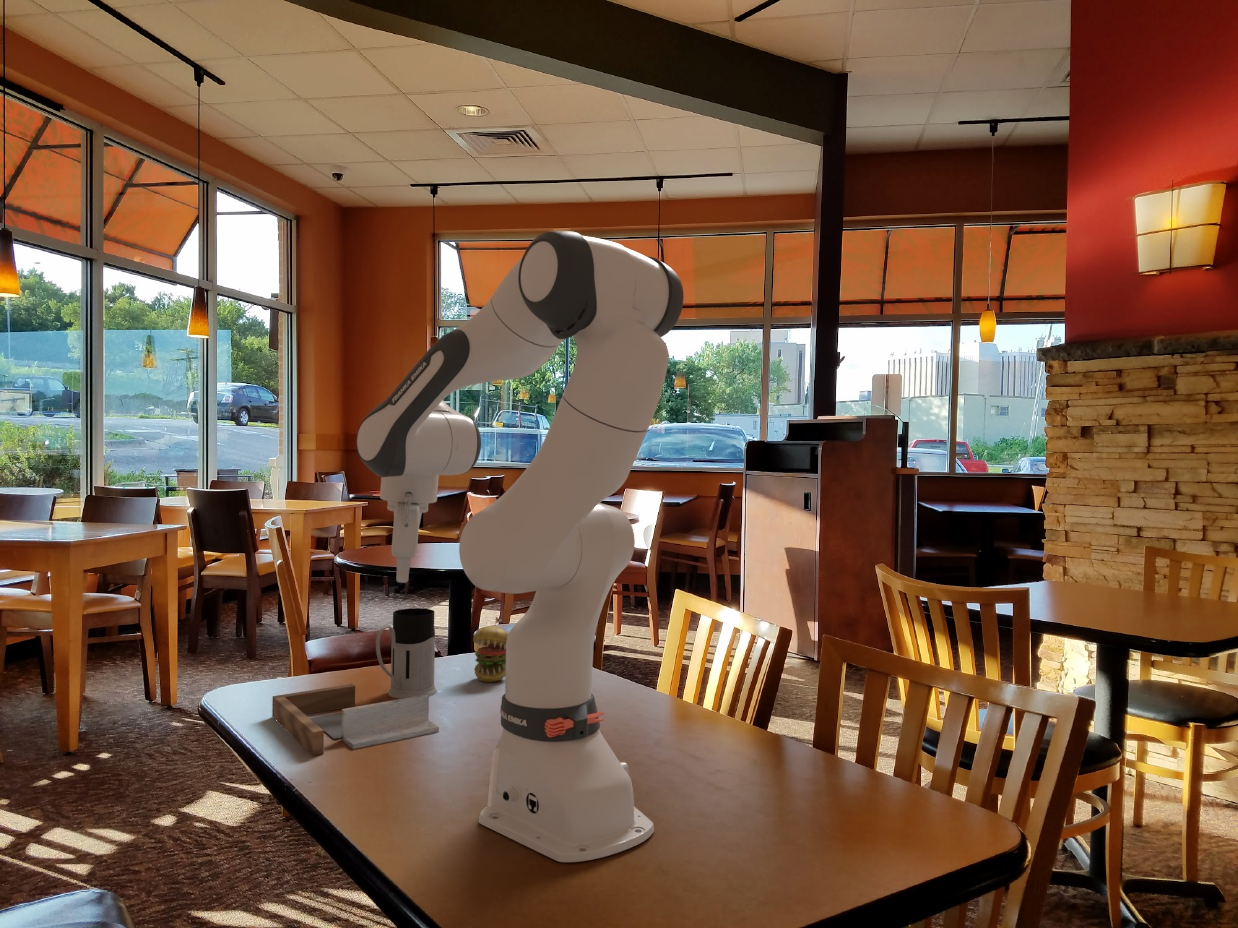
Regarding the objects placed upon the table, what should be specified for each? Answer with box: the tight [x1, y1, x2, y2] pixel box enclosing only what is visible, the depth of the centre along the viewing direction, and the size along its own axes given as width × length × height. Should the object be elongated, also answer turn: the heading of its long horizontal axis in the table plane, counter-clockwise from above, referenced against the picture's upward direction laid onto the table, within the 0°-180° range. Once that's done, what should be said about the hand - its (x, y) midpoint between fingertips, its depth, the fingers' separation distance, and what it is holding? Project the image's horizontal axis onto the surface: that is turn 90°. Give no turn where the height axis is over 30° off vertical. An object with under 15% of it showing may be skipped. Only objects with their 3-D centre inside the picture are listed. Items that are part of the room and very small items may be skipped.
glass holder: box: [375, 607, 437, 700], centre depth 153 cm, size 9×14×15 cm, turn 155°
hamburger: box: [472, 616, 509, 683], centre depth 165 cm, size 8×7×12 cm
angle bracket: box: [341, 695, 440, 750], centre depth 132 cm, size 14×5×5 cm, turn 127°
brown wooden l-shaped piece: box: [271, 683, 356, 757], centre depth 135 cm, size 22×14×4 cm, turn 38°
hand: (402, 575), depth 133 cm, fingers open, 8 cm apart
